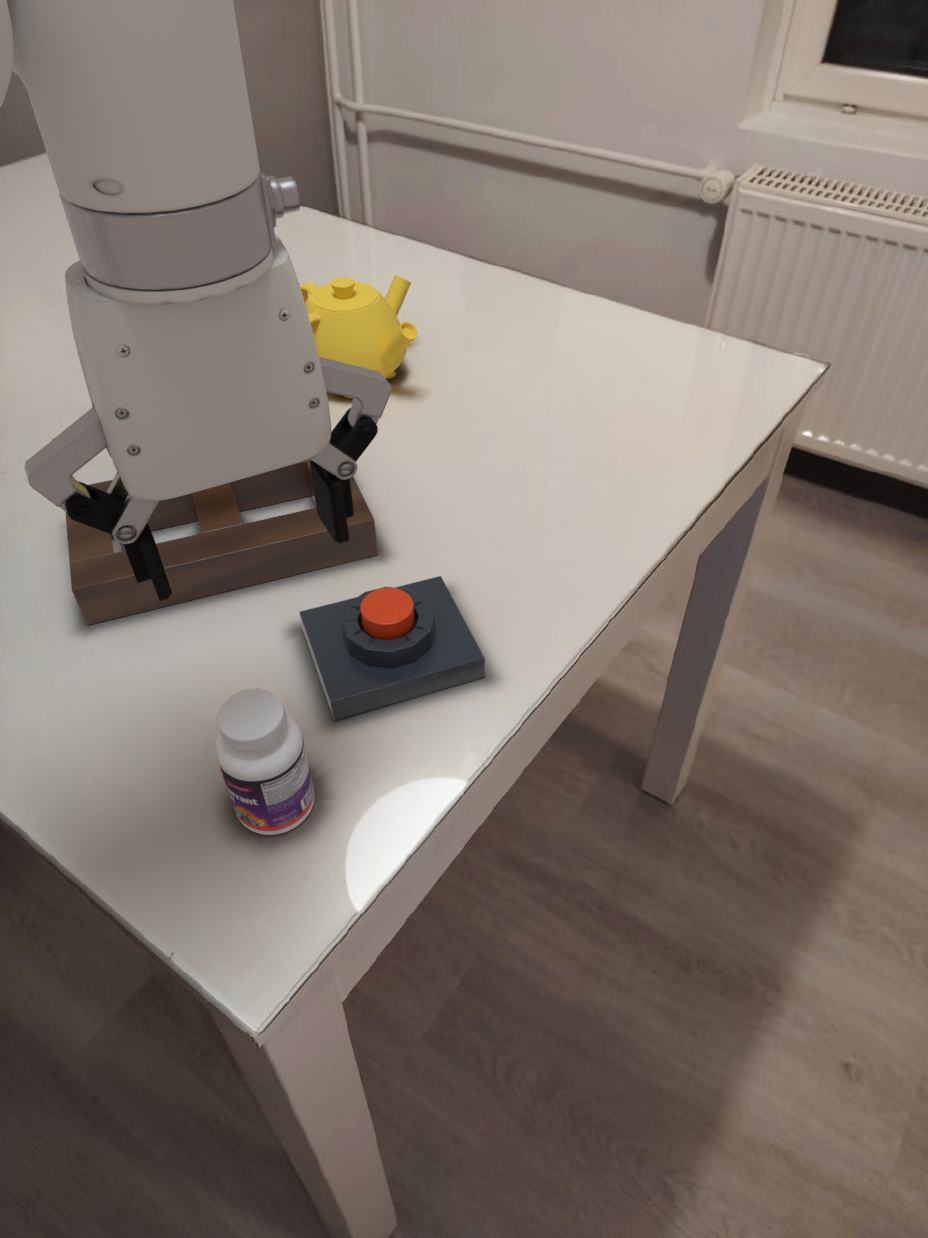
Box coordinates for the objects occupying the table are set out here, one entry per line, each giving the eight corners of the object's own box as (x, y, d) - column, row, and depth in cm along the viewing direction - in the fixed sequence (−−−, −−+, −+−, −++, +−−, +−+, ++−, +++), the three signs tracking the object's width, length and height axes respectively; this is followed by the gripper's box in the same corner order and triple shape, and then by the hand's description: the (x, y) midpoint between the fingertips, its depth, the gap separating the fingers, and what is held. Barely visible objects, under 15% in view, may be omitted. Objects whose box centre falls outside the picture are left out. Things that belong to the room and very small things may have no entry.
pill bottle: (221, 799, 59) (188, 708, 52) (288, 757, 62) (266, 665, 55) (261, 853, 56) (233, 765, 49) (331, 807, 59) (312, 717, 52)
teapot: (420, 405, 95) (416, 307, 87) (295, 412, 94) (279, 313, 86) (413, 343, 105) (408, 250, 98) (300, 348, 104) (286, 255, 97)
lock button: (370, 646, 64) (368, 629, 63) (356, 611, 67) (354, 594, 66) (421, 632, 65) (420, 616, 64) (405, 598, 68) (404, 582, 67)
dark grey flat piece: (333, 721, 64) (327, 685, 61) (302, 630, 71) (295, 595, 68) (484, 677, 67) (485, 641, 64) (441, 594, 74) (440, 559, 71)
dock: (378, 555, 77) (374, 519, 75) (87, 625, 71) (71, 590, 68) (337, 468, 87) (333, 434, 84) (77, 524, 81) (63, 489, 78)
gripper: (340, 166, 40) (370, 475, 52) (-70, 236, 34) (71, 564, 46) (409, 221, 35) (424, 547, 47) (-54, 312, 29) (98, 656, 41)
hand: (249, 555), depth 47 cm, fingers open, 9 cm apart
